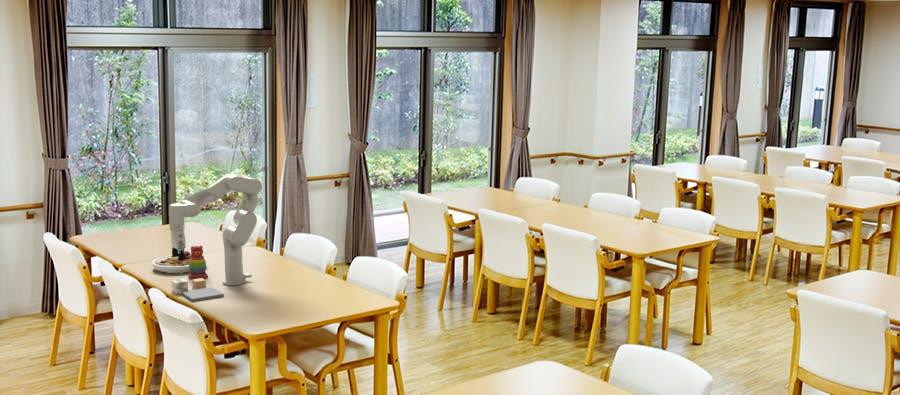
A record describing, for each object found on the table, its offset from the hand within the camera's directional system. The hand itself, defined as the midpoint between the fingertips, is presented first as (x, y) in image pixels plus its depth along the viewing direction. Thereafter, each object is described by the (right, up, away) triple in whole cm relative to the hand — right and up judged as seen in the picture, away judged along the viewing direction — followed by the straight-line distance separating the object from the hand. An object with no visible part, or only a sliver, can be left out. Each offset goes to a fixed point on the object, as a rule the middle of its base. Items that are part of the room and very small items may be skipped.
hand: (178, 258), depth 495 cm
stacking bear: (+1, -13, +34) cm, 36 cm away
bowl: (-15, -10, +53) cm, 56 cm away
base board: (+14, -19, -4) cm, 24 cm away
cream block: (0, -18, +3) cm, 18 cm away
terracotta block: (+9, -17, +9) cm, 21 cm away
